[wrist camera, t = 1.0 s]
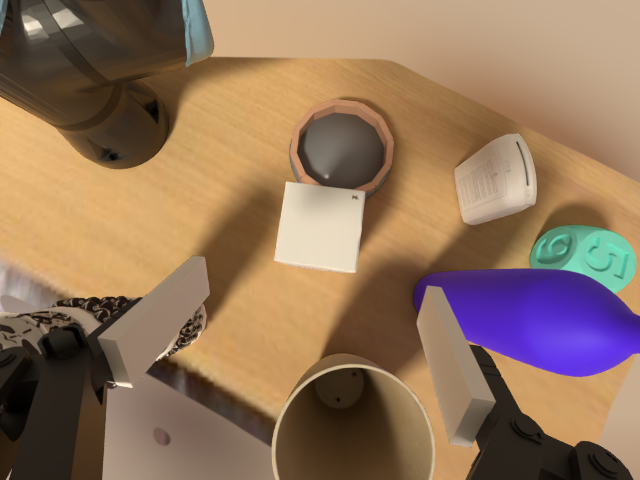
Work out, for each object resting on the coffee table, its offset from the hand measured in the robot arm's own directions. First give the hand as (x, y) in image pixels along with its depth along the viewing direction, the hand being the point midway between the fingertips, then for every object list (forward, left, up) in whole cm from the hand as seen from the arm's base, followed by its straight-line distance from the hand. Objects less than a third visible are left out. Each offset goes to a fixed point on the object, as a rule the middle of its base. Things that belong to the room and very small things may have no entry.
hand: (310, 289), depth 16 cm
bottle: (+17, +9, -26) cm, 33 cm away
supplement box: (-3, +5, -26) cm, 27 cm away
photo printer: (+12, +26, -26) cm, 39 cm away
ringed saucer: (-9, +19, -26) cm, 34 cm away
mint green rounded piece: (+29, +25, -26) cm, 47 cm away
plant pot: (+12, -10, -26) cm, 31 cm away
